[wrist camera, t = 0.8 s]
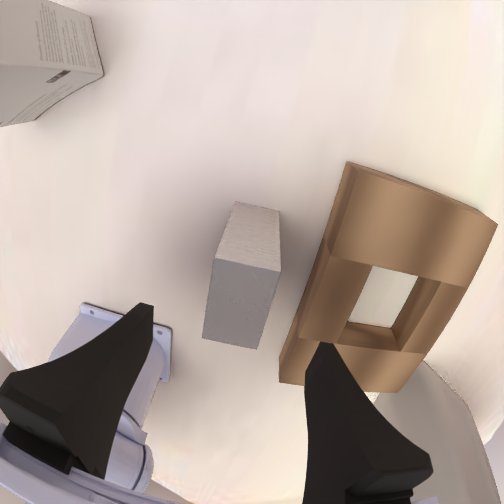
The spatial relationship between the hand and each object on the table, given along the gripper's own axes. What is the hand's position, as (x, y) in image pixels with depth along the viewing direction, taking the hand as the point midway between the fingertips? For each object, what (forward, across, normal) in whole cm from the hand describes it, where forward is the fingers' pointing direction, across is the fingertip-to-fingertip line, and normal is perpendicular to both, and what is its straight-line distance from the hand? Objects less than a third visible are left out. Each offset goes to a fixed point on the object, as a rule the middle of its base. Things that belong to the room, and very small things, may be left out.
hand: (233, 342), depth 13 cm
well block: (+10, -11, +2) cm, 15 cm away
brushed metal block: (+10, 0, 0) cm, 10 cm away
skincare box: (+11, +17, -11) cm, 23 cm away
